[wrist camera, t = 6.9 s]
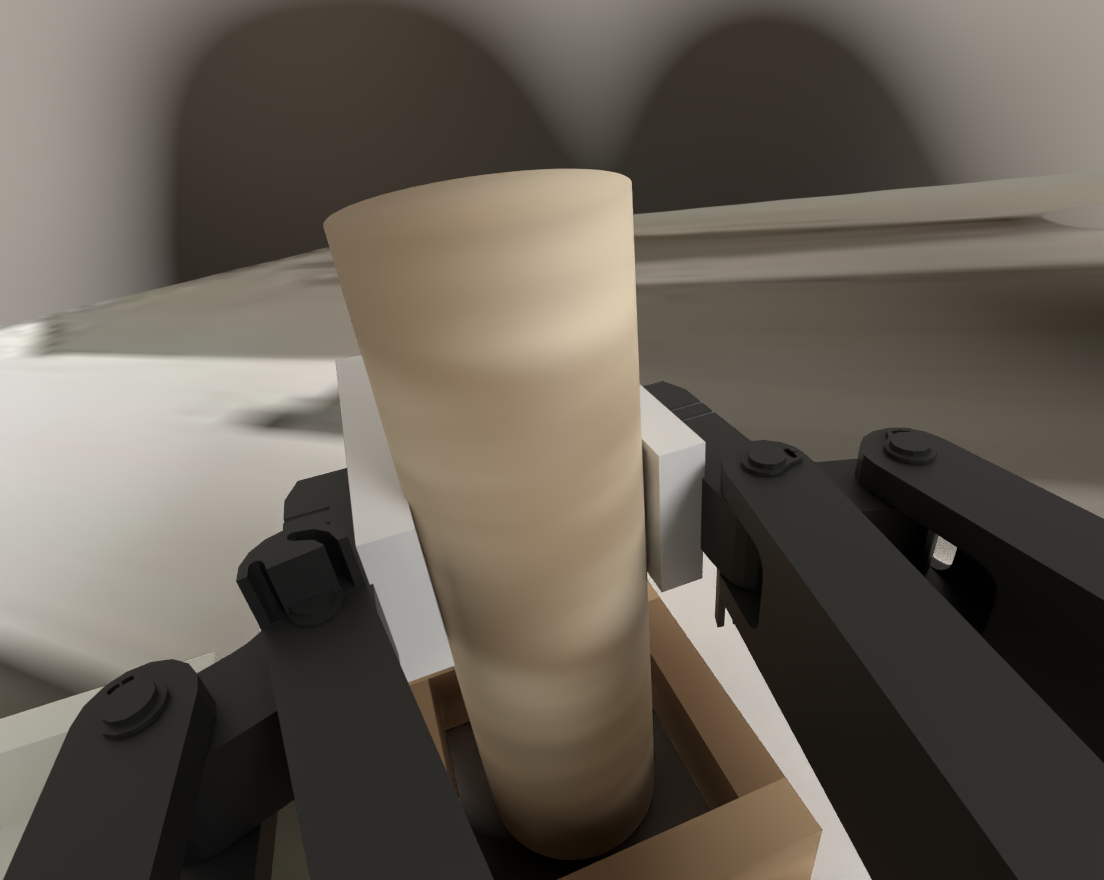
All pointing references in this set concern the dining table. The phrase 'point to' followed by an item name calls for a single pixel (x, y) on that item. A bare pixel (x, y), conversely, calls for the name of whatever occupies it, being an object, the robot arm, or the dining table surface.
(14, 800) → the tray
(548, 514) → the dowel
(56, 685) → the dining table surface
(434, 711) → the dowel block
